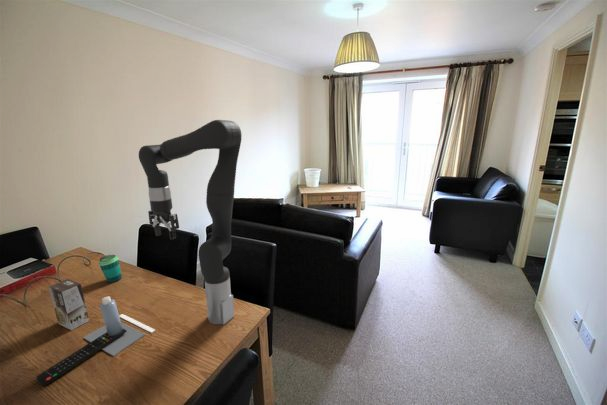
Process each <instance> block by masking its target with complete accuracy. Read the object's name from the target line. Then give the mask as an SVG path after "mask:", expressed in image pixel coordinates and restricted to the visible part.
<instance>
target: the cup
mask: <svg viewBox="0 0 607 405" xmlns="http://www.w3.org/2000/svg"><path fill="white" fill-rule="evenodd" d="M98 266H99V267H100V269H101V272H102V273H103V275H104V278H105V279H106V280H107V282H108V283H110V284H111V283H116V282H119V281H121V279H122V271H121V265H120V261H119V257H118V256H117V255H115V254H108V255H104V256H102V257H100V258H99V262H98Z"/></svg>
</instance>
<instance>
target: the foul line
mask: <svg viewBox="0 0 607 405" xmlns="http://www.w3.org/2000/svg"><path fill="white" fill-rule="evenodd" d="M119 317H120V319H122V320H125V321H127V322H128V323H131V324H132V325H135V326H137V327H139V328H141V329H143V330H144V331H147V332H149V333H151V334H152V333H154V332H155V331H156V329H155V328H154V327H153V328H152V327H151V326H148V325H146V324H144V323H142V322H140V321H138V320H136V319H134V318H132V317H130V316H128V315H125V314H123V313H122V314H119Z"/></svg>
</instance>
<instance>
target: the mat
mask: <svg viewBox="0 0 607 405" xmlns="http://www.w3.org/2000/svg"><path fill="white" fill-rule="evenodd" d="M121 325H122V328H123V329H125V330H126V332H125V333H124V334H122V335H121V336H119V337H118V338H116V339H115V340H113V341H112V342H110V343H109V344H107V345H106V346H104V347H103V348H101V349H100V350H101V351H104V352H105V353H106V354H109V355H110V356H112V357H116V356H117V355H118V354H120V353H121V352H123V351H124V350H125V349H128V348H129V347H130V346H132V345H133V344H135V343H136V342H138V341H139V340H141V339H142V338H144V337H145V336H146V334H145V333H144V332H142V331H140V330H138V329H135V328H133V327H132V326H129V325H128V324H126V323H124V322H121ZM106 332H107V329H106V326H105V324H104V325H102V326H101V327H99V328H97V329H96V330H94V331H92V332H91V333H89V334H86V335H85V336H83V339H84V340H85V341H87V342H89V343H90V342H92V341H93V340H95V339H97V338H98V337H100V336H101V335H103V334H105V333H106Z"/></svg>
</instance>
